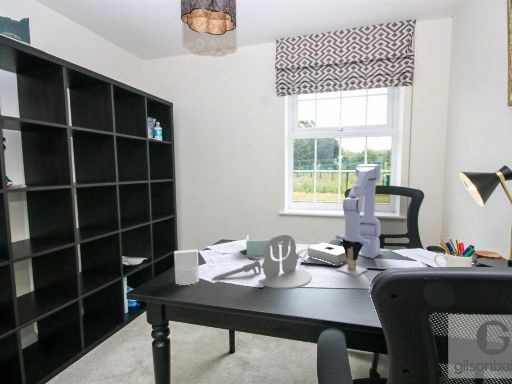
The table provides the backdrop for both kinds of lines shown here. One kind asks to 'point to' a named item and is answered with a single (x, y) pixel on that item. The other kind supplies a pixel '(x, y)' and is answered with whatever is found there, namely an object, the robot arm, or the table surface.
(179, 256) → the white rounded upright block
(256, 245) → the l-shaped corner panel
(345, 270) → the pad
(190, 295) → the table surface
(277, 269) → the ornament
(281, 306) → the table surface
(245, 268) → the caliper
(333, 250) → the guard box
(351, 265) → the long tan rectangular block
